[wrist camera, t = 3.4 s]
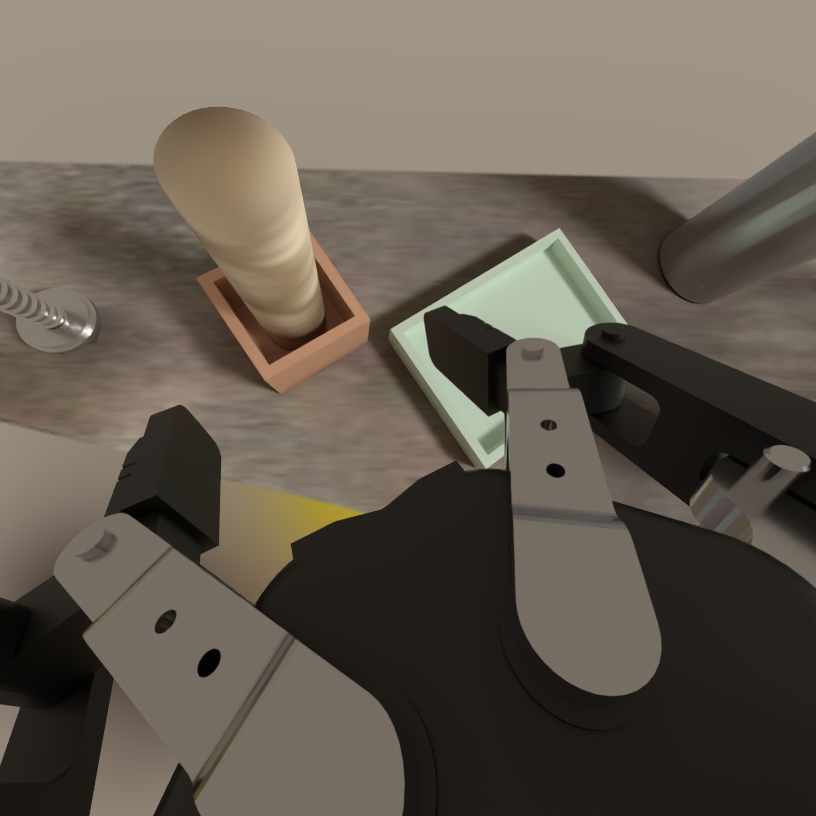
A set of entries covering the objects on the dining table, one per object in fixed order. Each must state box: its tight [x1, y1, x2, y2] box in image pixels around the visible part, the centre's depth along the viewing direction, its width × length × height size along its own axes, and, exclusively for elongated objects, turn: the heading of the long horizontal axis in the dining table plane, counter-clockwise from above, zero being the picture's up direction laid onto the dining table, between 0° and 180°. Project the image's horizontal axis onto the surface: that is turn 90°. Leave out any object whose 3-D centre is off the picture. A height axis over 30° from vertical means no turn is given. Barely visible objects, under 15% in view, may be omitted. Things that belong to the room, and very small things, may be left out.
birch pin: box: [154, 107, 327, 352], centre depth 19 cm, size 5×5×15 cm
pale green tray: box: [387, 228, 627, 469], centre depth 29 cm, size 20×14×2 cm
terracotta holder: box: [196, 231, 370, 394], centre depth 25 cm, size 9×9×5 cm
